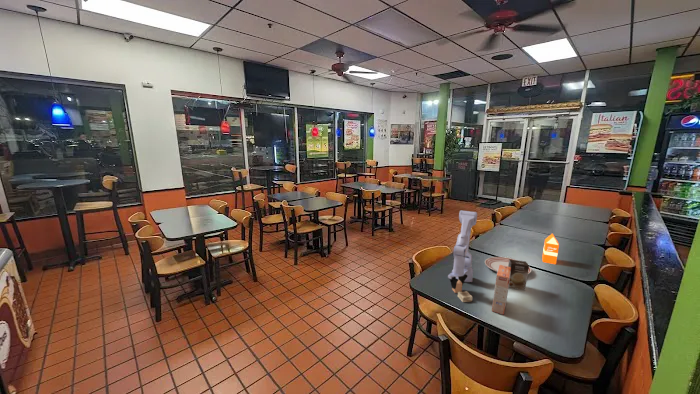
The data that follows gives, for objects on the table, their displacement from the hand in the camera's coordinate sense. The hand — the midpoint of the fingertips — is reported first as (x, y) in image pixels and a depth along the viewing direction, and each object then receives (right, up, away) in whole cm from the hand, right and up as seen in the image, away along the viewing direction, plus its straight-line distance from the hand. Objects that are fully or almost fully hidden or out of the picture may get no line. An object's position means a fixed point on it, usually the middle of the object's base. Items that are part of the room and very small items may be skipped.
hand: (457, 286), depth 156 cm
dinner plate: (+45, +3, +26) cm, 52 cm away
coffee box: (+37, -2, +4) cm, 37 cm away
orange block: (0, -3, +1) cm, 3 cm away
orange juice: (+82, +6, +38) cm, 91 cm away
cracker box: (+17, -6, -14) cm, 23 cm away
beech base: (+1, -5, -7) cm, 9 cm away
